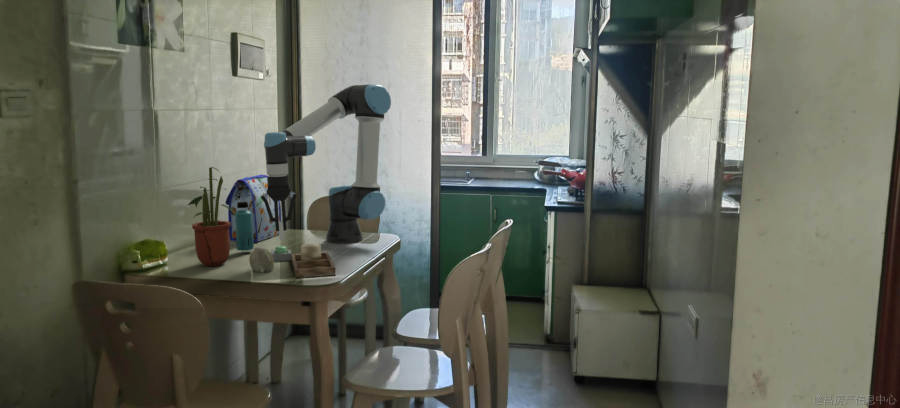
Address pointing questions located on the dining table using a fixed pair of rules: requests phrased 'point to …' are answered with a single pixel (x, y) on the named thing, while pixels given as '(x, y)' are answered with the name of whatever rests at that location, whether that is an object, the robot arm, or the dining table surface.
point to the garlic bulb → (261, 260)
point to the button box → (282, 256)
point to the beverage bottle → (244, 228)
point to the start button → (281, 249)
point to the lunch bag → (253, 207)
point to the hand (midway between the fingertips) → (281, 239)
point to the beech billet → (310, 252)
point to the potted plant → (211, 229)
